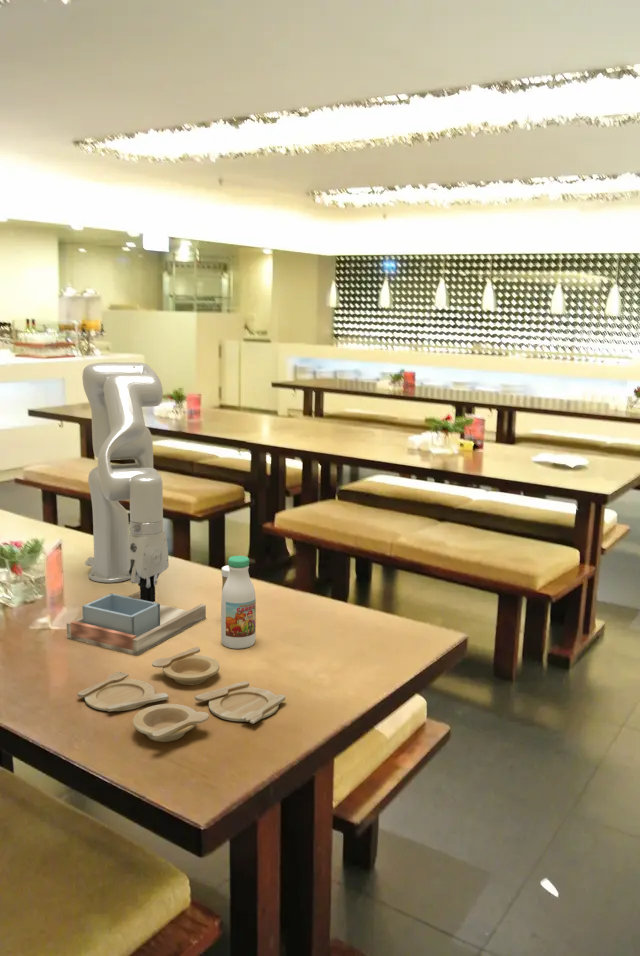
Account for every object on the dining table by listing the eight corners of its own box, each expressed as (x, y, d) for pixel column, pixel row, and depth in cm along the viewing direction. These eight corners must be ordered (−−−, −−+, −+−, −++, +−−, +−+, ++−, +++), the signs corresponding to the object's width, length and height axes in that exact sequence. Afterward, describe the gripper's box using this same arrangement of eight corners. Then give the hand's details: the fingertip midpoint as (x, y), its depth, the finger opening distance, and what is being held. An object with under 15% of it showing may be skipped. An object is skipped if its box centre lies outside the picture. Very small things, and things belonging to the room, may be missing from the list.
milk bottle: (214, 645, 186) (214, 559, 182) (233, 634, 193) (233, 551, 189) (243, 652, 183) (243, 565, 179) (261, 640, 189) (262, 556, 185)
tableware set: (299, 712, 157) (299, 692, 156) (169, 768, 136) (168, 745, 136) (190, 655, 181) (190, 638, 180) (66, 695, 161) (65, 676, 160)
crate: (83, 632, 188) (82, 605, 187) (112, 618, 197) (111, 593, 196) (132, 644, 182) (131, 617, 181) (160, 630, 191) (159, 603, 190)
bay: (67, 638, 188) (66, 621, 187) (140, 604, 211) (139, 589, 210) (137, 655, 179) (137, 638, 178) (205, 618, 202) (205, 602, 201)
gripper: (138, 536, 185) (139, 614, 189) (179, 522, 198) (179, 595, 202) (112, 531, 189) (114, 608, 192) (154, 518, 202) (155, 590, 205)
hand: (147, 601), depth 197 cm, fingers closed
